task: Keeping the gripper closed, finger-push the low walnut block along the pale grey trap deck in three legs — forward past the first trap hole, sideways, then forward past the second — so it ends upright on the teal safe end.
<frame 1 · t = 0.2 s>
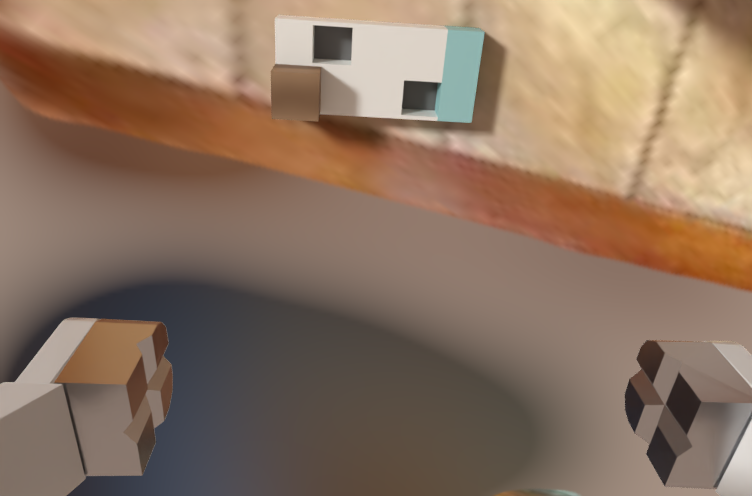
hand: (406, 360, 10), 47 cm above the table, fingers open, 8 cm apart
block: (298, 88, 52), point 2 cm above the table, touching trap deck
trap deck: (376, 67, 54), on the table
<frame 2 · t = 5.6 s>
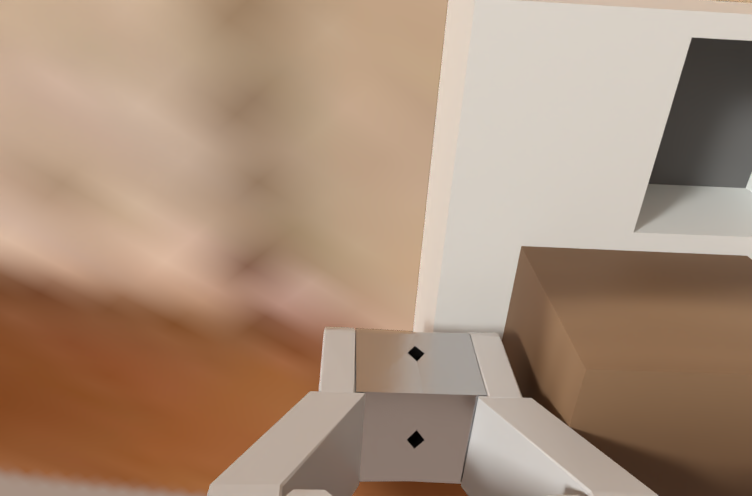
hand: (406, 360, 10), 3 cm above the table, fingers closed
block: (606, 343, 11), point 3 cm above the table, touching gripper
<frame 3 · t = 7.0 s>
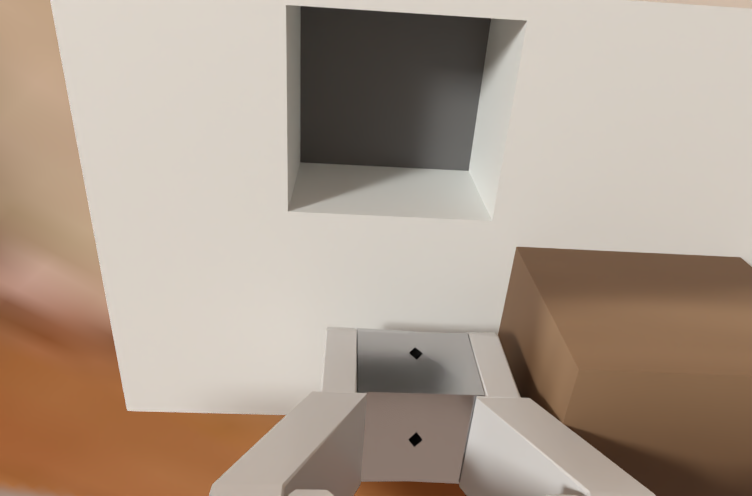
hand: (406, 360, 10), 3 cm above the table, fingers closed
block: (600, 344, 11), point 2 cm above the table, touching gripper, trap deck
trap deck: (576, 196, 12), on the table
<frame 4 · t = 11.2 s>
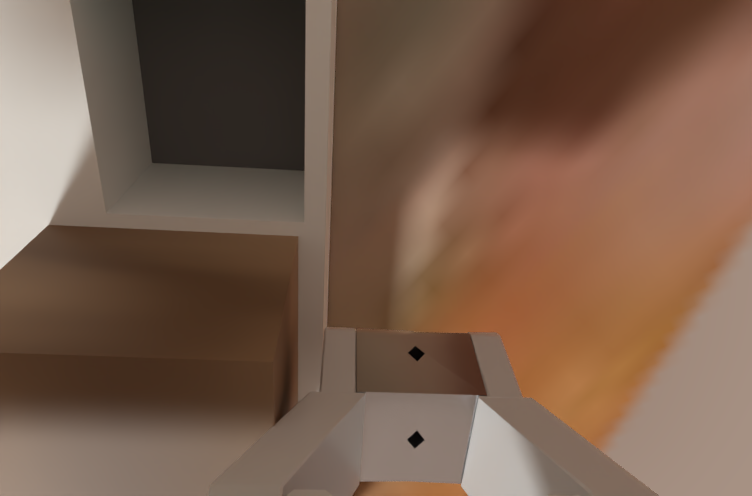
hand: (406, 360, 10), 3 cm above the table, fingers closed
block: (185, 330, 10), point 3 cm above the table, touching gripper
trap deck: (143, 264, 13), on the table
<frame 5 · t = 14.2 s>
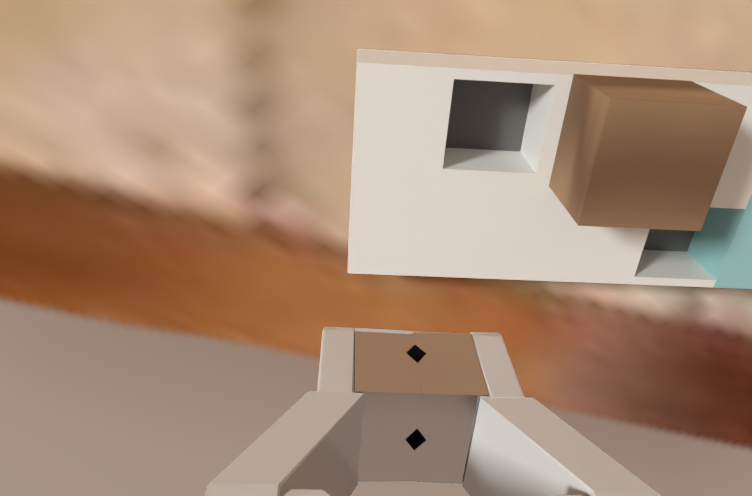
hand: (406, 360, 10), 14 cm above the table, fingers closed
block: (616, 135, 20), point 2 cm above the table, touching trap deck
trap deck: (575, 165, 23), on the table
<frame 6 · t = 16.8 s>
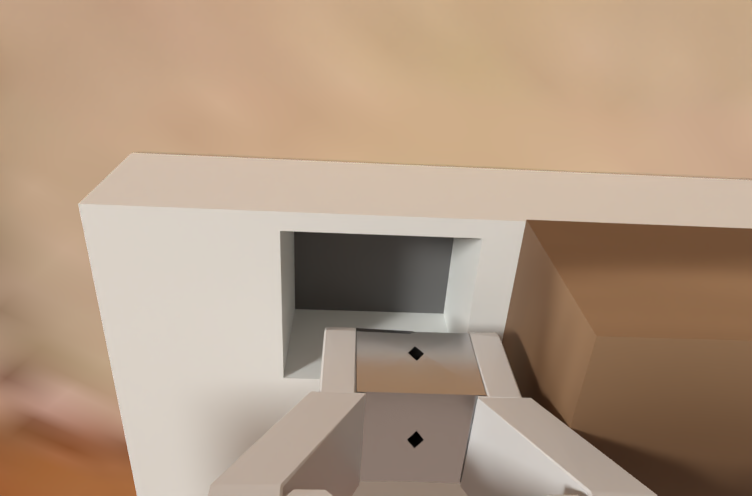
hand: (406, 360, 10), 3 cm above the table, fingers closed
block: (613, 321, 11), point 3 cm above the table, touching gripper, trap deck
trap deck: (540, 330, 14), on the table
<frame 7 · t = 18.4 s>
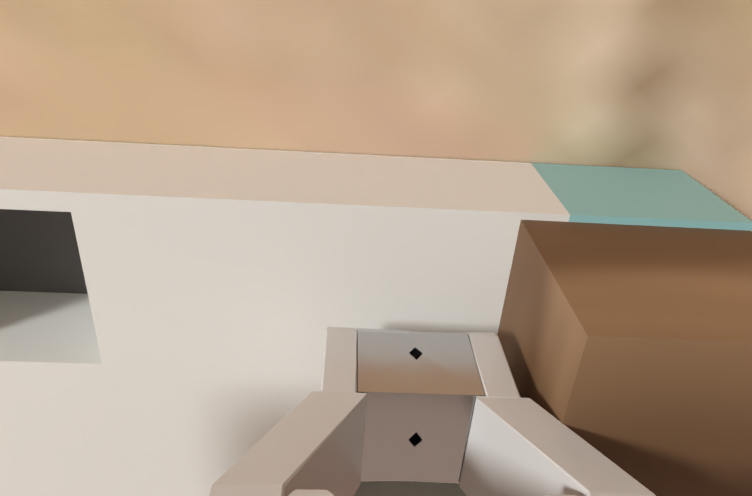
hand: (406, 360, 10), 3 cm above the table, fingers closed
block: (606, 321, 11), point 2 cm above the table, touching gripper, trap deck
trap deck: (253, 313, 13), on the table
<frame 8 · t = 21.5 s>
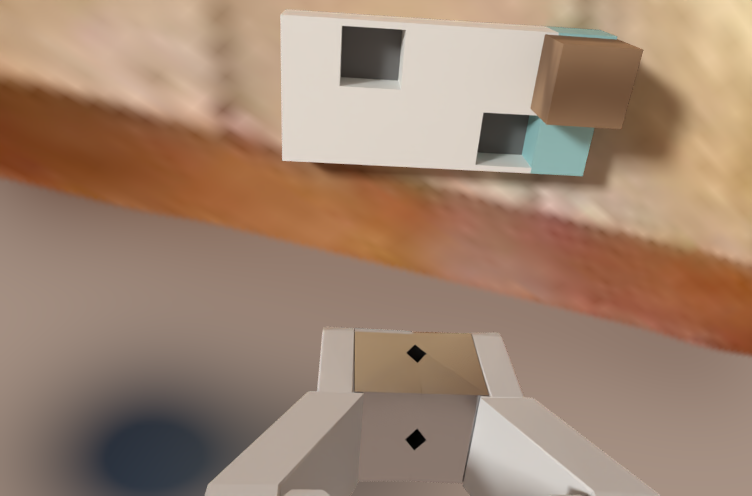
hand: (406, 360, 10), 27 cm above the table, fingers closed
block: (572, 74, 32), point 2 cm above the table, touching trap deck
trap deck: (437, 90, 35), on the table
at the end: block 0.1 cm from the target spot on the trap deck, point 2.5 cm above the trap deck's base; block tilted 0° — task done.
